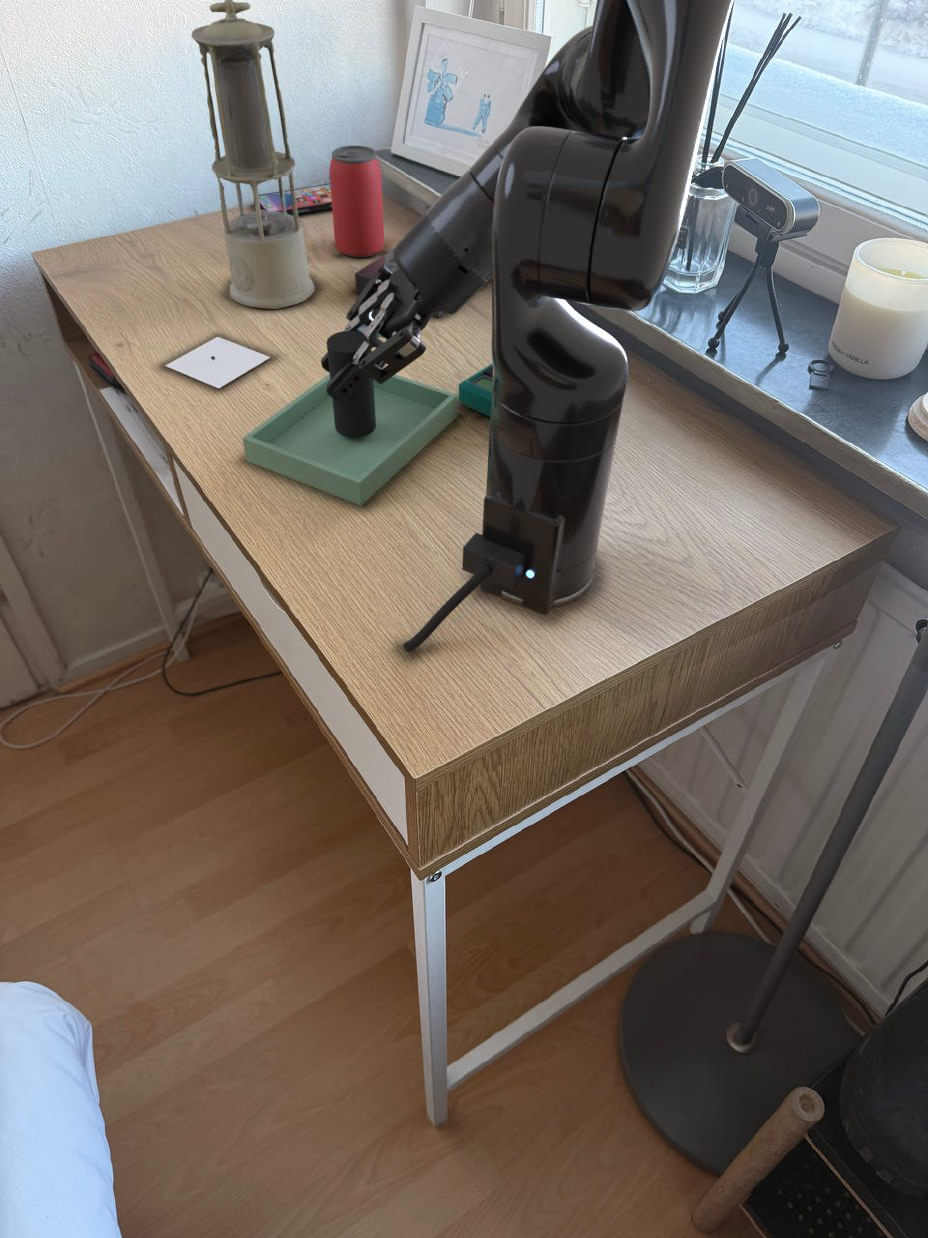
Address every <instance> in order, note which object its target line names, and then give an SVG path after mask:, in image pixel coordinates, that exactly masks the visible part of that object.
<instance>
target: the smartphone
mask: <svg viewBox="0 0 928 1238" xmlns="http://www.w3.org/2000/svg"><path fill="white" fill-rule="evenodd" d="M294 189H295V195H296V203H297V211H298V215H300V214H307V213H313V212H318V211H324V210H330V209H331V210H332V199H331V187H330V182H329V183H324V184H317V185H312V186H304V187H298V188H294ZM283 191H284V197H285V208H286V213H287V214H289V215H292V216H293V209H292V199H291V191H290V189H287V190H283ZM258 196H259V204H260V210H265V211H273V212H282V207H281V198H280V191H279V190H278V191H274V192H268V193H267V192H266V193H262V194H258ZM253 203H254V204H255V201H254V200H253Z"/></svg>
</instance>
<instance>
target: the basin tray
mask: <svg viewBox="0 0 928 1238" xmlns="http://www.w3.org/2000/svg"><path fill="white" fill-rule="evenodd" d="M329 381H330V373H329V374H327V375H325V376H324V377H323V378H321V379H320V380H319V381H318V382H316V383H315V384H314V385H312V386H311V387H310V388H308V389H307V390H306V391H304V392H303V393H301V394H300V395H299V396H297V397H296V398H295V399H293V400H292V401H291V402H289V403H288V404H287V405H285V406H284V407H282V408H281V409H280V410H278V411H277V412H276V413H274V414H273V415H272V416H270V417H269V418H268V419H266V420H265V421H264V422H262V423H261V424H260V425H258V426H257V427H255V428H254V429H253V430H251V431H250V432H249V433H247V434H246V435H245V436H243V437H242V443H243V447H244V454H245V460H246V461H247V462H248V463H250V464H254V465H256V466H259V467H261V468H263V469H266V470H269V471H271V472H274V473H277V474H279V475H282V476H283V477H287V478H289V479H291V480H294V481H297V482H299V483H301V484H304V485H306V486H309V487H312V488H314V489H317V490H319V491H322V492H324V493H327V494H329V495H332V496H334V497H337V498H340V499H343V500H344V501H347V502H350V503H352V504H355V505H357V506H360V507H362V506H364V504H366V503H367V502H368V501H369V500H370V499H371V498H372V497H373V496H374V495H375V494H376V493H377V492H378V491H380V489H382V487H384V486H385V485H386V484H387V483H388V482H389V481H390V480H391V479H392V478H393V477H394V476H396V474H397V473H399V472H400V471H401V470H402V469H403V468H404V467H405V466H406V465H407V464H408V463H409V462H411V460H413V459H414V458H415V457H416V456H417V455H418V454H419V453H420V452H421V451H423V449H424V448H425V447H427V445H429V444H430V443H431V442H432V441H433V440H434V439H435V438H436V437H437V436H439V435H440V433H441V432H443V431H444V430H445V429H446V428H447V427H448V426H449V425H450V424H451V423H452V422H453V421H454V420H455V419H457V417H458V394H456V393H453V392H450V391H447V390H444V389H440V388H438V387H435V386H432V385H429V384H425V383H422V382H420V381H416V380H413V379H411V378H408V377H404V376H401V375H398V374H395V375H394V376H392V377H391V378H389V379H388V380H387V381H385V382H384V383H383V384H379V383H378V382H376V381H375V380H374V379H373V381H374V398H375V414H376V428H375V430H374V431H373V432H372V433H371V434H369V435H367V436H363V437H358V438H351V437H346V436H343V435H341V434H339V433H338V432H337V431H336V429H335V421H334V411H333V401H332V397H331V396H330V395H328V394H327V390H326V385H327V384H328V382H329Z"/></svg>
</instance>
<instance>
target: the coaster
mask: <svg viewBox="0 0 928 1238" xmlns="http://www.w3.org/2000/svg"><path fill="white" fill-rule="evenodd" d="M270 358H271V357H270V356H268V355H266V354H263V353H260V352H258V351H256V350H253V349H250V348H248V347H245V346H243V345H240V344H238V343H235V342H233V341H230V340H229V339H228V340H227V339H225V338H222V337H220V336H216V337H213V339H211V340H209V341H207V342H205V343H203V344H202V345H200V346H197V347H196V348H195V349H192V350H190V351H189V352H187V353H186V354H184V355H182V356H179V357H178V358H176V359H175V360H173V361H171V362H169V363H167V364H166V365H164V367H167V368H169V369H171V370H174V371H176V372H179V373H181V374H183V375H186V376H188V377H191V378H193V379H195V380H196V381H197V380H198V381H200V382H203V383H204V384H207V385H209V386H212V387H213V388H216V389H221V388H222V387H224V386H225V385H227V384H229V383H230V382H232V381H234V380H235V379H237V378H239V377H241V376H242V375H244V374H245V373H247V372H249V371H250V370H252V369H254V368H256V367H258V366H259V365H261V364H262V363H264V362H265V361H267V360H269V359H270Z"/></svg>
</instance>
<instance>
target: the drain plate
mask: <svg viewBox="0 0 928 1238" xmlns="http://www.w3.org/2000/svg"><path fill="white" fill-rule="evenodd" d="M393 251H394V248H392V249H391V250H390V251H388V252H386V253H385V254H383V255H381V256H379V258H376V259H375V260H374V261H372V262H370V263H369V264H368V265H366V266H365V267H363V268H361V269H360V270H358V271H357V272H355V273H354V279H355V292H356V294H358V295H360V294H361V293H362V291H363V290H364V288H365V287H366V285H367V284H368V283H369V281H370V280H371V278H372V277H373V275H374V274H375V272H376V271H377V269H378V268H379V267H380V266H381V265H385V266H386V267H387V268H388V269H389V270H390V271H391V272H395V271H396V270H398V269H399V267H398V265H397V263H396V261H395V259H394V255H393ZM444 314H445V313H444V312H443V311H437V312H435V313H434V314H433V316H432V317H436V318H437V319H438V318H440V317H442V316H443V315H444Z"/></svg>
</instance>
